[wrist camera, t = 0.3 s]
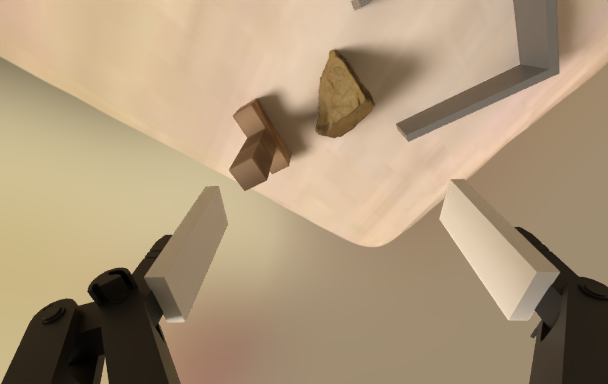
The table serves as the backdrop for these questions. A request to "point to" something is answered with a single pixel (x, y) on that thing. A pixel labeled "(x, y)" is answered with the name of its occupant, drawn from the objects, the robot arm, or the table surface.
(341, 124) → the rock
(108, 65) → the table surface
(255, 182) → the brown t-shaped block
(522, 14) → the box
